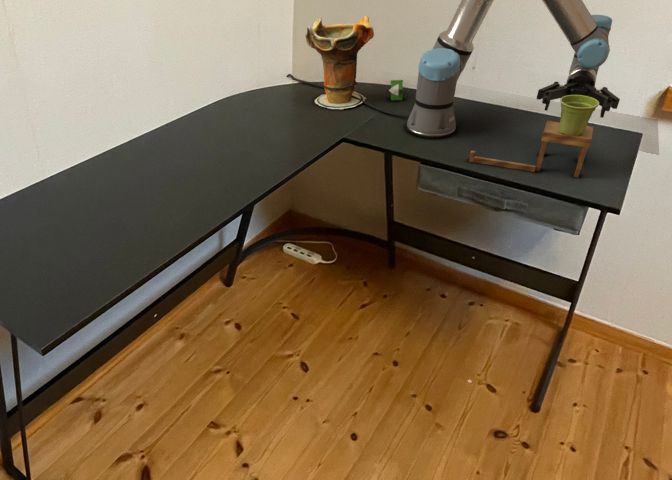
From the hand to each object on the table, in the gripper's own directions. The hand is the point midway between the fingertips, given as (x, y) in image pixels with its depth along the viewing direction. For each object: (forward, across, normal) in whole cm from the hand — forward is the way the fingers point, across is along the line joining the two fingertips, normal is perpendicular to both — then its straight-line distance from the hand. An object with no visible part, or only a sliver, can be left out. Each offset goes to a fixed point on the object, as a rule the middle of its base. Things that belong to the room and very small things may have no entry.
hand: (574, 109), depth 157 cm
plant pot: (-3, -1, -8) cm, 8 cm away
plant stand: (-3, +8, -18) cm, 20 cm away
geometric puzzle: (-37, +58, -18) cm, 71 cm away
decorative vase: (-28, +76, -18) cm, 83 cm away
